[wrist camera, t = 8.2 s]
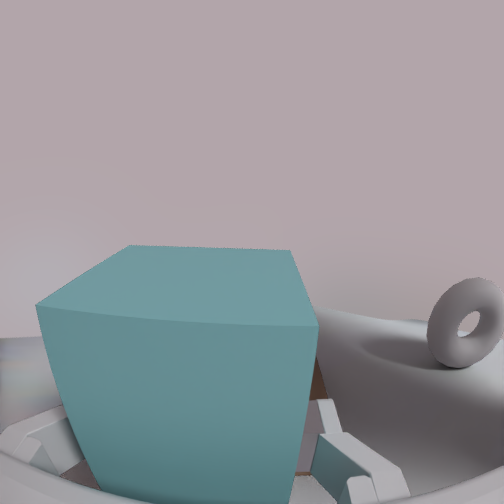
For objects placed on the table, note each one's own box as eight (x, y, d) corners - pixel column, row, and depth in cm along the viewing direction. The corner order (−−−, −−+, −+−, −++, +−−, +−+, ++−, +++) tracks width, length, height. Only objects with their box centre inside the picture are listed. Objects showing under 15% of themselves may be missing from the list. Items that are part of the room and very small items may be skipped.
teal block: (269, 480, 12) (290, 250, 10) (271, 567, 7) (319, 325, 5) (164, 471, 12) (129, 245, 10) (141, 553, 7) (35, 304, 5)
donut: (421, 376, 27) (447, 280, 25) (412, 358, 30) (433, 269, 28) (495, 371, 26) (523, 285, 23) (482, 356, 29) (506, 275, 27)
